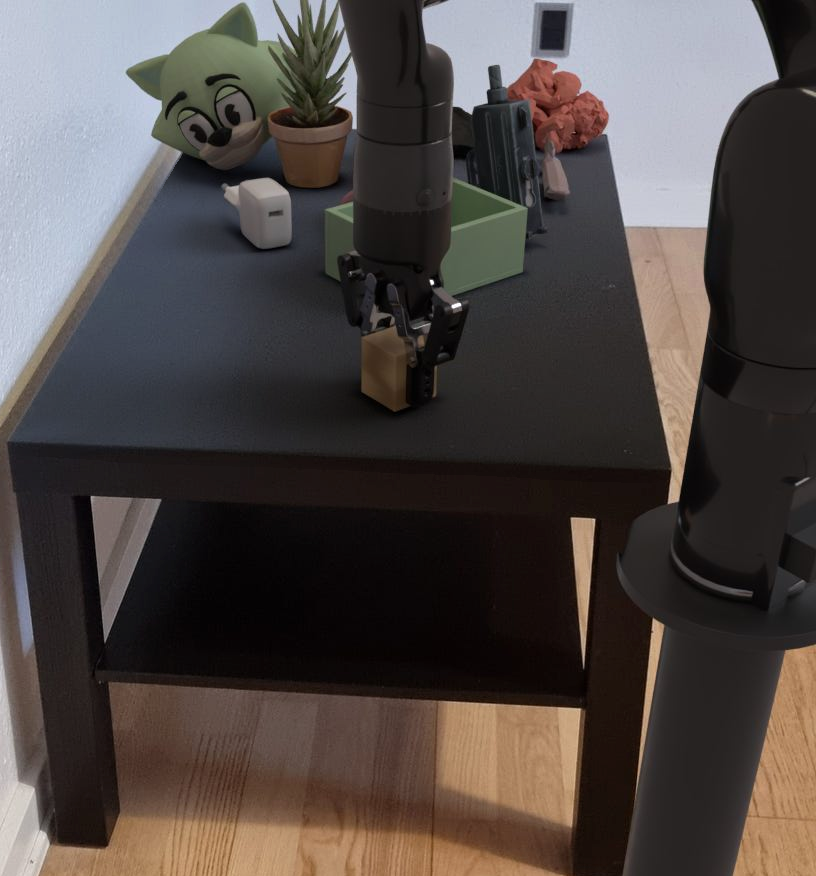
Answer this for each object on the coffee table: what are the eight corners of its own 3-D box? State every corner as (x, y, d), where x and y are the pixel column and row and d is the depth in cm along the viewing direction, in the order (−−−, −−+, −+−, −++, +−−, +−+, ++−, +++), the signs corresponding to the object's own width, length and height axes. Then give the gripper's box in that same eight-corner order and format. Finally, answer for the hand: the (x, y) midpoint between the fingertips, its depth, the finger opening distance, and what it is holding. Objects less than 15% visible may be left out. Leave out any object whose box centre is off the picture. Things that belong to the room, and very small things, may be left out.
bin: (522, 272, 132) (528, 208, 128) (399, 313, 124) (401, 246, 120) (445, 237, 139) (448, 175, 136) (325, 273, 132) (324, 209, 128)
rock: (463, 167, 157) (474, 125, 154) (413, 147, 159) (423, 106, 157) (495, 154, 164) (506, 114, 162) (446, 136, 167) (457, 96, 164)
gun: (430, 69, 142) (531, 60, 130) (451, 228, 148) (549, 232, 136) (411, 74, 140) (511, 65, 129) (433, 233, 146) (530, 239, 135)
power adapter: (215, 218, 144) (212, 164, 141) (257, 210, 146) (255, 157, 143) (255, 254, 136) (252, 198, 132) (298, 246, 137) (297, 190, 134)
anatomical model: (601, 143, 166) (552, 212, 158) (514, 96, 168) (461, 162, 160) (630, 81, 158) (579, 150, 150) (538, 32, 160) (483, 99, 152)
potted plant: (284, 161, 159) (278, -62, 145) (361, 168, 156) (363, -58, 143) (257, 190, 151) (248, -44, 137) (338, 198, 148) (337, -39, 135)
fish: (553, 171, 156) (558, 129, 153) (568, 220, 145) (574, 176, 142) (530, 171, 156) (535, 129, 153) (544, 219, 145) (549, 175, 142)
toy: (177, 225, 156) (99, 121, 147) (189, 144, 169) (118, 45, 160) (328, 145, 149) (256, 31, 140) (328, 68, 162) (262, -40, 153)
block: (436, 396, 110) (438, 341, 107) (394, 412, 108) (395, 356, 105) (402, 376, 113) (403, 322, 110) (361, 392, 111) (361, 336, 108)
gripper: (504, 205, 98) (491, 411, 107) (382, 155, 107) (379, 348, 117) (426, 229, 94) (419, 440, 104) (306, 175, 104) (310, 372, 113)
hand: (398, 390), depth 110 cm, fingers closed on block, 4 cm apart
